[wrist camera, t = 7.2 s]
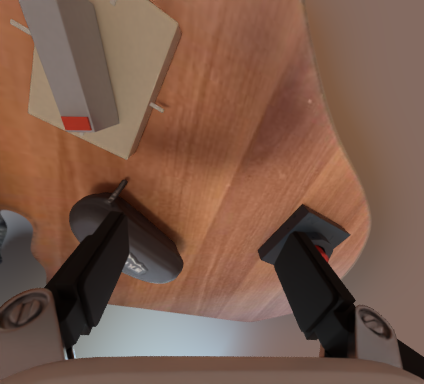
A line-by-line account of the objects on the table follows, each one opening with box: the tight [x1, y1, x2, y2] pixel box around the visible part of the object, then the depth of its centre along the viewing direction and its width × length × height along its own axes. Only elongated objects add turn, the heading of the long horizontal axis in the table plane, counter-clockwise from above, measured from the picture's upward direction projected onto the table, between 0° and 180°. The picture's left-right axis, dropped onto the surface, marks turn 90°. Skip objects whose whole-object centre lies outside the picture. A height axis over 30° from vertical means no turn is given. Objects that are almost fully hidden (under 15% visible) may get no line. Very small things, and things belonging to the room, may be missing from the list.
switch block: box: [258, 204, 350, 265], centre depth 31 cm, size 12×10×4 cm
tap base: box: [10, 0, 182, 160], centre depth 17 cm, size 14×13×3 cm
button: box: [315, 245, 329, 263], centre depth 29 cm, size 4×4×2 cm
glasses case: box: [69, 180, 183, 283], centre depth 26 cm, size 18×10×8 cm, turn 38°
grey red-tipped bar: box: [19, 0, 120, 133], centre depth 14 cm, size 9×2×5 cm, turn 179°
